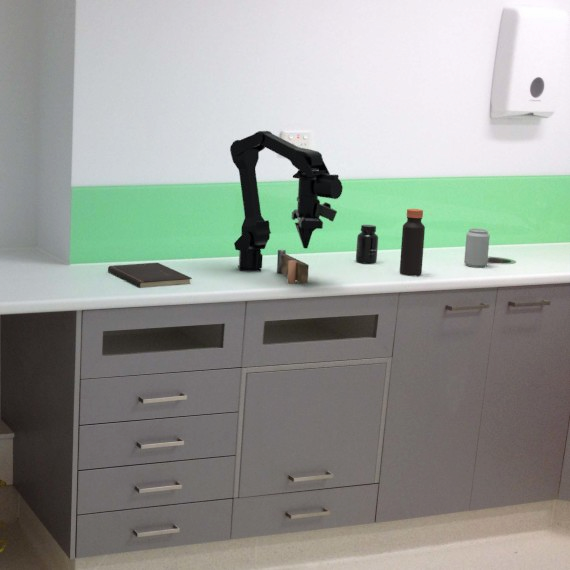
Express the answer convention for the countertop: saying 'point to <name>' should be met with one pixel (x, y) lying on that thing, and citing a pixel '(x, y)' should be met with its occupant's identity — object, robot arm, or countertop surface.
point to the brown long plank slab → (300, 268)
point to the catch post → (292, 271)
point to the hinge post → (280, 260)
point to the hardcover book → (149, 275)
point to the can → (476, 248)
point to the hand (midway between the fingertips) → (305, 248)
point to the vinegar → (412, 244)
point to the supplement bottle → (367, 245)
